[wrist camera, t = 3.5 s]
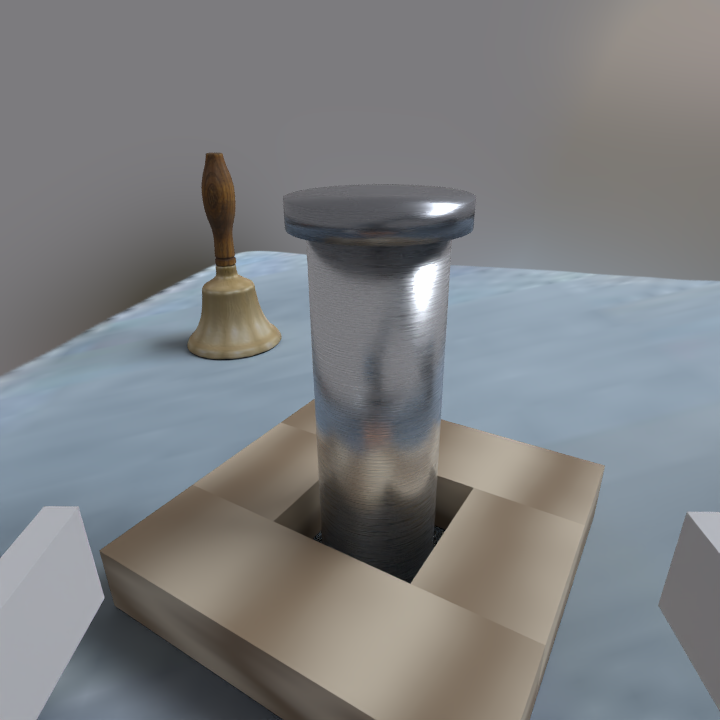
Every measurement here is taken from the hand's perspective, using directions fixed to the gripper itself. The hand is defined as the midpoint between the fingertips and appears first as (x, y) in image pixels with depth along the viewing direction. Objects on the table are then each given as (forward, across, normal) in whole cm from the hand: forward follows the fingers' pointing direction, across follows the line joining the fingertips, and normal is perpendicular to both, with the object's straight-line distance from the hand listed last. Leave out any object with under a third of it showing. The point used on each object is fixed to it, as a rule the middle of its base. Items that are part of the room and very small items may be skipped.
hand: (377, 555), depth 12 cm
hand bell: (+36, -13, -10) cm, 39 cm away
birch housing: (+10, 0, -10) cm, 14 cm away
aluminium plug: (+10, 0, -10) cm, 14 cm away
